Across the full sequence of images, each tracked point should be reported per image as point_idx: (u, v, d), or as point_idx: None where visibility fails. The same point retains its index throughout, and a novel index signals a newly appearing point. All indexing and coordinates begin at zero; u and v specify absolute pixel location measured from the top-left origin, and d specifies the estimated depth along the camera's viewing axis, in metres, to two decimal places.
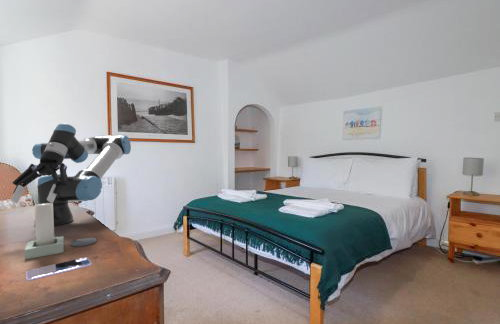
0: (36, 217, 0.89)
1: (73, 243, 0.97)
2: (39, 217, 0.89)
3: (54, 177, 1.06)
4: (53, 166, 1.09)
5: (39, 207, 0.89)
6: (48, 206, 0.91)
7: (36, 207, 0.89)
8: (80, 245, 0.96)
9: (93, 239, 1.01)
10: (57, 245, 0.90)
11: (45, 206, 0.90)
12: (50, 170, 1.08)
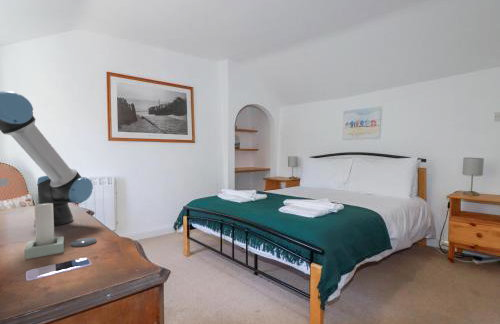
0: (36, 217, 0.89)
1: (73, 243, 0.97)
2: (39, 217, 0.89)
3: None
4: None
5: (39, 207, 0.89)
6: (48, 206, 0.91)
7: (36, 207, 0.89)
8: (80, 245, 0.96)
9: (93, 239, 1.01)
10: (57, 245, 0.90)
11: (45, 206, 0.90)
12: None
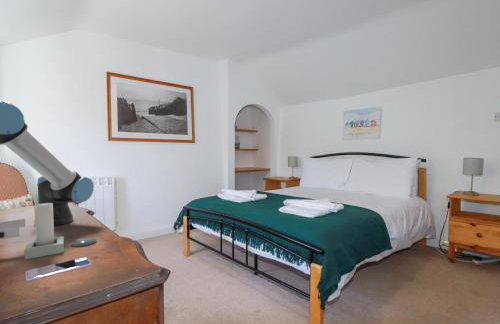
0: (36, 217, 0.89)
1: (73, 243, 0.97)
2: (39, 217, 0.89)
3: None
4: None
5: (39, 207, 0.89)
6: (48, 206, 0.91)
7: (36, 207, 0.89)
8: (80, 245, 0.96)
9: (93, 239, 1.01)
10: (57, 245, 0.90)
11: (45, 206, 0.90)
12: None
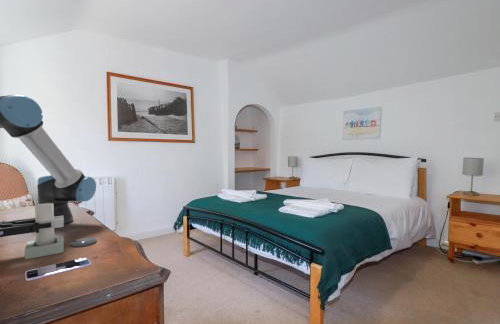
0: (37, 217, 0.89)
1: (73, 243, 0.97)
2: (39, 217, 0.89)
3: None
4: None
5: (40, 207, 0.89)
6: (49, 206, 0.91)
7: (37, 207, 0.89)
8: (80, 245, 0.96)
9: (93, 239, 1.01)
10: (57, 245, 0.90)
11: (46, 206, 0.90)
12: None
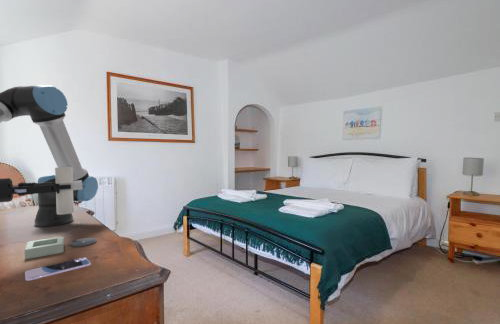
0: (57, 179, 0.93)
1: (73, 243, 0.97)
2: (59, 179, 0.93)
3: None
4: None
5: (60, 169, 0.92)
6: (68, 169, 0.94)
7: (57, 169, 0.93)
8: (80, 245, 0.96)
9: (93, 239, 1.01)
10: (57, 245, 0.90)
11: (65, 168, 0.93)
12: None
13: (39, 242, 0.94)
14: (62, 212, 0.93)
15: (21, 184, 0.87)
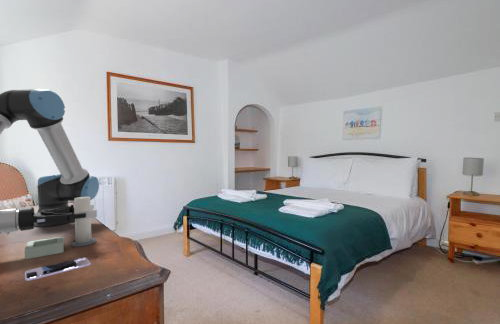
0: (76, 209, 0.97)
1: (73, 243, 0.97)
2: (79, 209, 0.97)
3: None
4: None
5: (79, 200, 0.97)
6: (87, 199, 0.98)
7: (76, 200, 0.97)
8: (80, 245, 0.96)
9: (93, 239, 1.01)
10: (57, 245, 0.90)
11: (84, 199, 0.98)
12: None
13: (39, 242, 0.94)
14: (81, 240, 0.98)
15: (42, 212, 0.91)
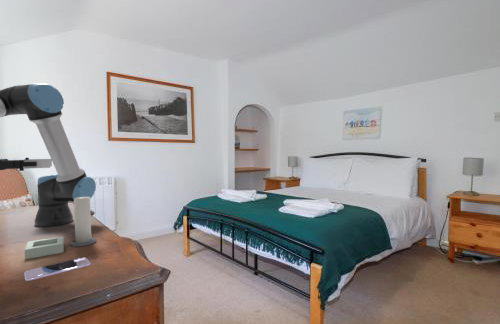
0: (76, 209, 0.97)
1: (73, 243, 0.97)
2: (78, 209, 0.97)
3: None
4: None
5: (79, 200, 0.97)
6: (86, 199, 0.98)
7: (76, 200, 0.97)
8: (80, 245, 0.96)
9: (93, 239, 1.01)
10: (57, 245, 0.90)
11: (84, 199, 0.98)
12: None
13: (39, 242, 0.94)
14: (81, 240, 0.98)
15: None
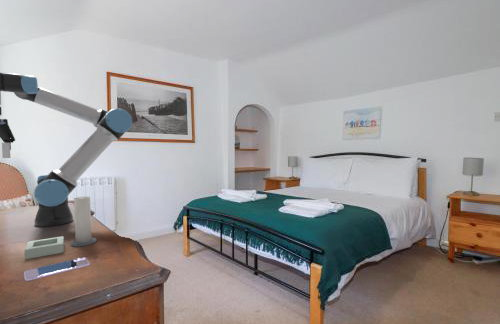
0: (76, 209, 0.97)
1: (73, 243, 0.97)
2: (78, 209, 0.97)
3: None
4: None
5: (79, 200, 0.97)
6: (86, 199, 0.98)
7: (76, 200, 0.97)
8: (80, 245, 0.96)
9: (93, 239, 1.01)
10: (57, 245, 0.90)
11: (84, 199, 0.98)
12: None
13: (39, 242, 0.94)
14: (81, 240, 0.98)
15: None
